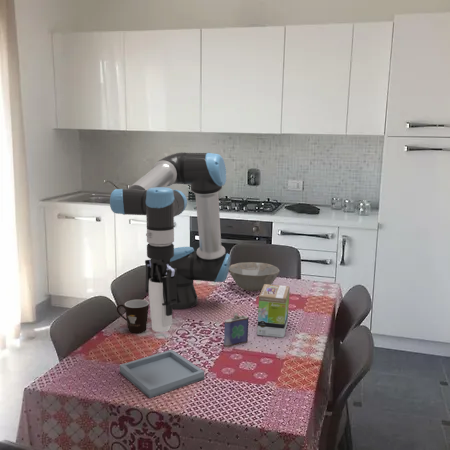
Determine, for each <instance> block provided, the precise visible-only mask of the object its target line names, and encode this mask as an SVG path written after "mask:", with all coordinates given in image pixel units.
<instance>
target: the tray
mask: <svg viewBox="0 0 450 450" xmlns="http://www.w3.org/2000/svg"><path fill="white" fill-rule="evenodd" d="M119 373H120V374H121V375H122V376H123V377H124V378H126V379H127V380H128V381H129V382H130V383H131V384H133V385H134V386H135V387H136V389H138V390H139V391H140V392H142V393H143V394H144V395H145V396H147V398H149V399H152V398H155V397H156V396H160V395H163V394H165V393H168V392H171V391H174V390H177V389H180V388H183V387H185V386H188V385H191V384H194V383H196V382H199V381H203V380H205V370H203V369H202V368H201V367H199V366H198V365H196V364H194V363H193V362H191V361H189V360H188V359H187V358H186V357H184V356H182V355H180V354H179V353H178V352H177V351H175V350H173V349H169V350H166V351H162V352H159V353H155V354H152V355H148V356H145V357H142V358H138V359H135V360H132V361H131V360H130V361H129V362H126V363H125V362H124V363H121V364H119Z"/></svg>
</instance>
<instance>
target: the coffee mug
mask: <svg viewBox="0 0 450 450" xmlns="http://www.w3.org/2000/svg"><path fill="white" fill-rule="evenodd" d="M120 307H123V308H124V309H125V310H124V312H125V316H124V315H123V314H122V313H121V312H120V311H119V308H120ZM149 310H150V301H149V300H145V299H131V300H128V301H125V302H124V305H123V304H119V305H117V307H116V312H117V314H118V315H119V316H120V317H121V318H122V319H124V321H125V322H126V324H127V331H128V332H129V333H130V334H135V335H137V334H139V335H140V334H143V333H146V331H147V328H148V327H147V325H148V317H149Z"/></svg>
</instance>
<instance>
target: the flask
mask: <svg viewBox="0 0 450 450" xmlns="http://www.w3.org/2000/svg"><path fill="white" fill-rule="evenodd" d="M249 320H250V318H249V316H247V315H238V312H234V313H233V317H231V318H228V319H225V320H224V331H223V333H224V335H223V336H224V337H223V338H224V339H223V346H224V347H225V348H229V347H232V346H238V345H241V344H246V343H248V342H249V341H248V340H249Z"/></svg>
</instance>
